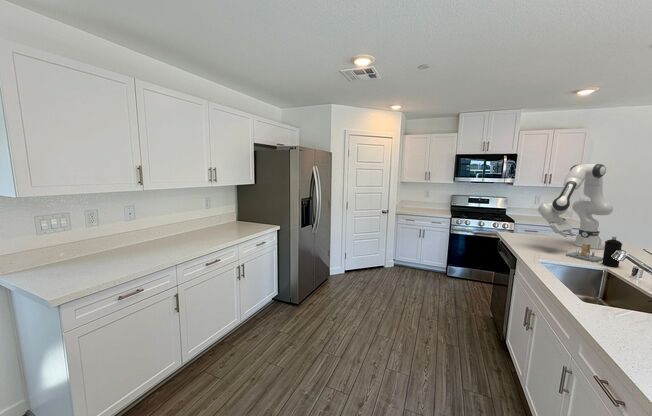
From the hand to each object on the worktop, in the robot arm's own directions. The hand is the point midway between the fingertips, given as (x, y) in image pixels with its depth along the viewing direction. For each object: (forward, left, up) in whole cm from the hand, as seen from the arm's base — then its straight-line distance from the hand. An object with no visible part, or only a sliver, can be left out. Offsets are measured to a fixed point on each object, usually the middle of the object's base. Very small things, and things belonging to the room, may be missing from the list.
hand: (569, 236), depth 205 cm
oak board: (0, +11, -13) cm, 16 cm away
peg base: (0, +10, -14) cm, 18 cm away
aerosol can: (+5, +26, -14) cm, 30 cm away
